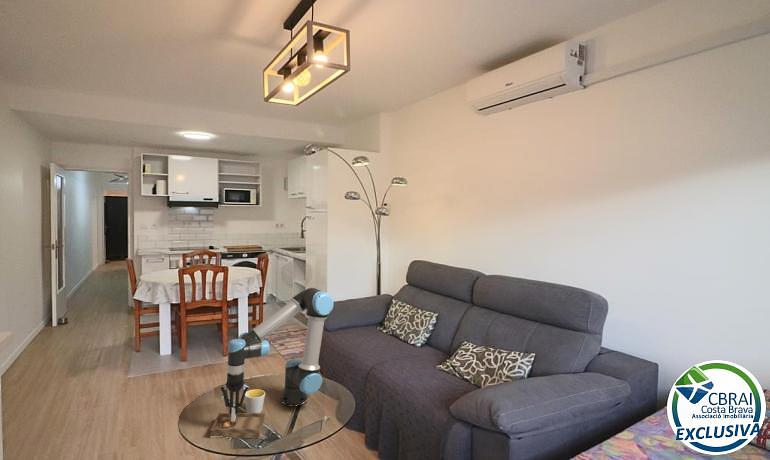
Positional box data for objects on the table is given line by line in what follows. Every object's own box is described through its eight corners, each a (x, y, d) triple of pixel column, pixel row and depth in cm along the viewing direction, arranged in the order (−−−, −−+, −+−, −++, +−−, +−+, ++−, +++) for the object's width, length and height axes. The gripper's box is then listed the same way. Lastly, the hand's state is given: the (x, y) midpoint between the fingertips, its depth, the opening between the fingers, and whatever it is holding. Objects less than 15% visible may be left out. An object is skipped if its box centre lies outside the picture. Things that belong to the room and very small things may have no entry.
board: (264, 420, 212) (264, 413, 212) (258, 437, 196) (259, 429, 196) (219, 420, 209) (219, 413, 209) (209, 438, 194) (210, 429, 193)
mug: (259, 418, 214) (260, 398, 213) (240, 416, 215) (241, 396, 215) (270, 406, 227) (271, 387, 227) (252, 404, 229) (253, 385, 228)
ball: (232, 424, 204) (227, 420, 205) (231, 424, 201) (226, 419, 202) (227, 431, 203) (221, 426, 203) (226, 431, 200) (220, 426, 200)
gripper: (251, 369, 206) (248, 416, 207) (223, 369, 204) (221, 416, 205) (248, 375, 199) (245, 424, 200) (219, 375, 197) (217, 424, 198)
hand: (233, 420), depth 202 cm, fingers closed
